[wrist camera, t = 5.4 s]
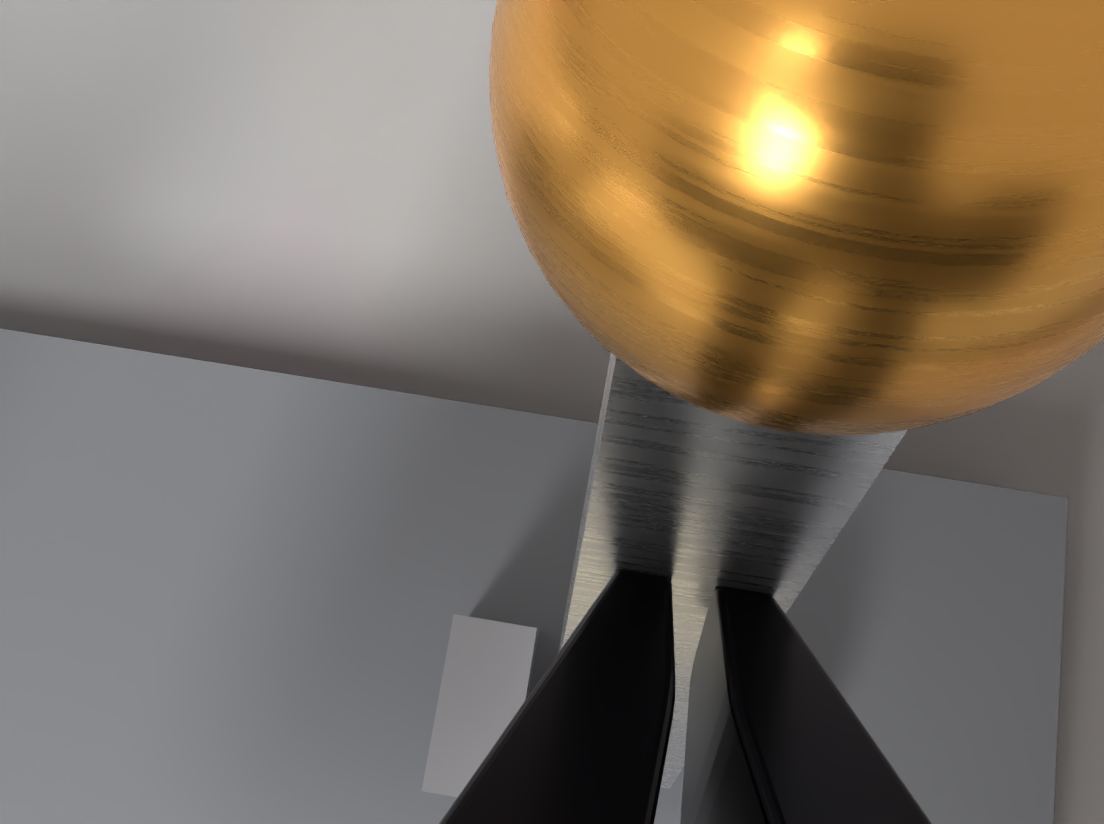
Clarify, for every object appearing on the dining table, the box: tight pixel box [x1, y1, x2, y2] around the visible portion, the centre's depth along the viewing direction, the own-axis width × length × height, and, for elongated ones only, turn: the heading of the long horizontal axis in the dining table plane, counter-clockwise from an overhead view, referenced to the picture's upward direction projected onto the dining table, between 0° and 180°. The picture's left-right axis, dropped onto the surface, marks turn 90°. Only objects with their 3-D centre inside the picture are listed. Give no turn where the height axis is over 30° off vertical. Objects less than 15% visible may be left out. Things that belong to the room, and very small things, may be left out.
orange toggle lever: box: [489, 0, 1104, 789], centre depth 8 cm, size 3×3×11 cm
